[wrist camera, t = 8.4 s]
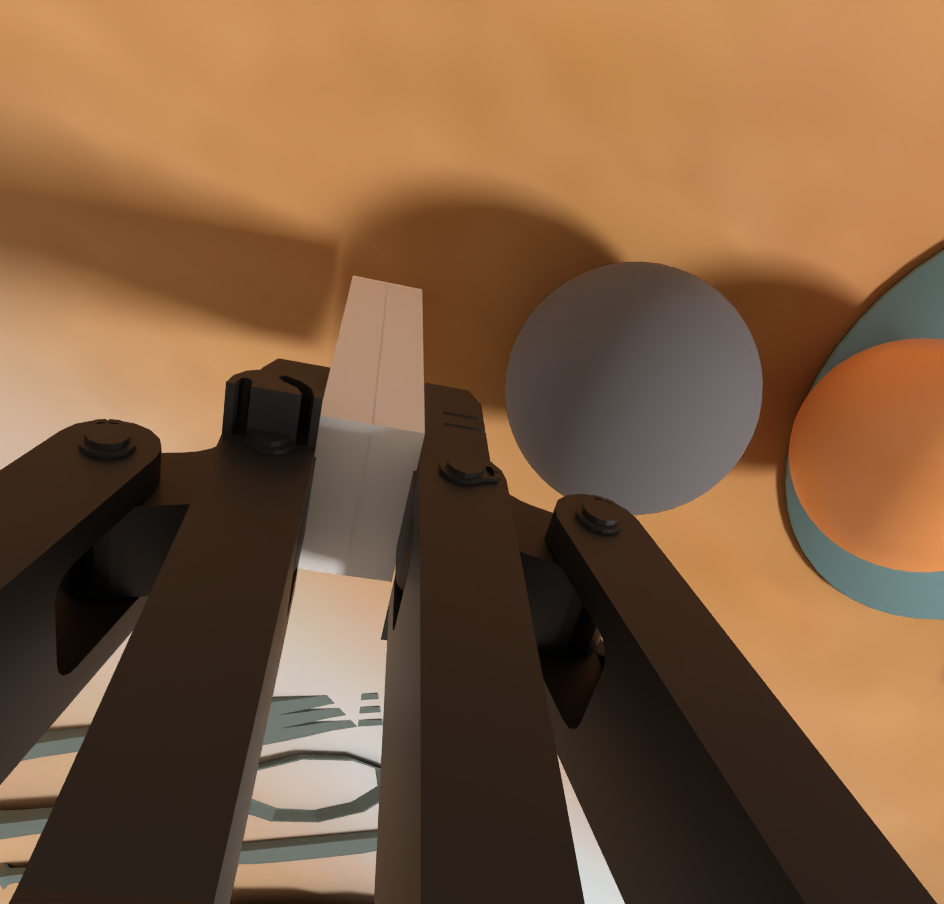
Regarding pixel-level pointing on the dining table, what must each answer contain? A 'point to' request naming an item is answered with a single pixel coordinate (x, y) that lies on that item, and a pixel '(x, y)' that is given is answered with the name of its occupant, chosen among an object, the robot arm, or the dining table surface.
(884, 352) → the orange ball
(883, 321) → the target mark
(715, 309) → the gray ball
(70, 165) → the dining table surface
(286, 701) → the cutlery set
